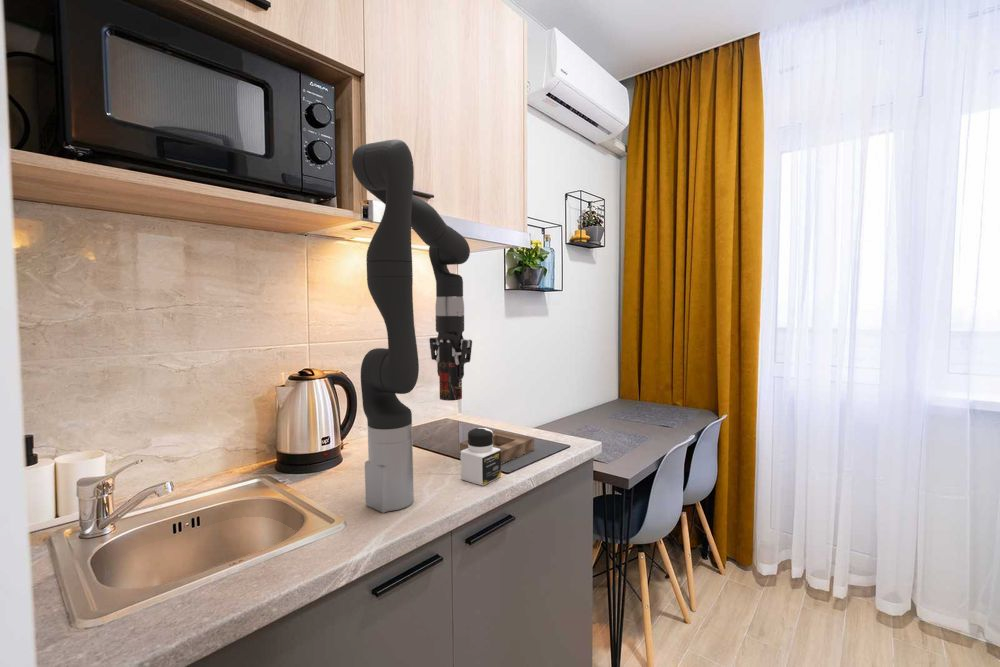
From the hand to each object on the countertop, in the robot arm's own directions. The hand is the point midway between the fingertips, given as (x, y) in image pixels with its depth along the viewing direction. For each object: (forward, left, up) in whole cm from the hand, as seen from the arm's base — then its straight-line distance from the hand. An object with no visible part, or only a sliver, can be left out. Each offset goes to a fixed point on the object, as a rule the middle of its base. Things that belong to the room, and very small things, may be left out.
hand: (450, 377), depth 125 cm
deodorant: (0, 0, -6) cm, 6 cm away
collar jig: (+13, -5, -23) cm, 27 cm away
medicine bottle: (-4, -14, -23) cm, 27 cm away
